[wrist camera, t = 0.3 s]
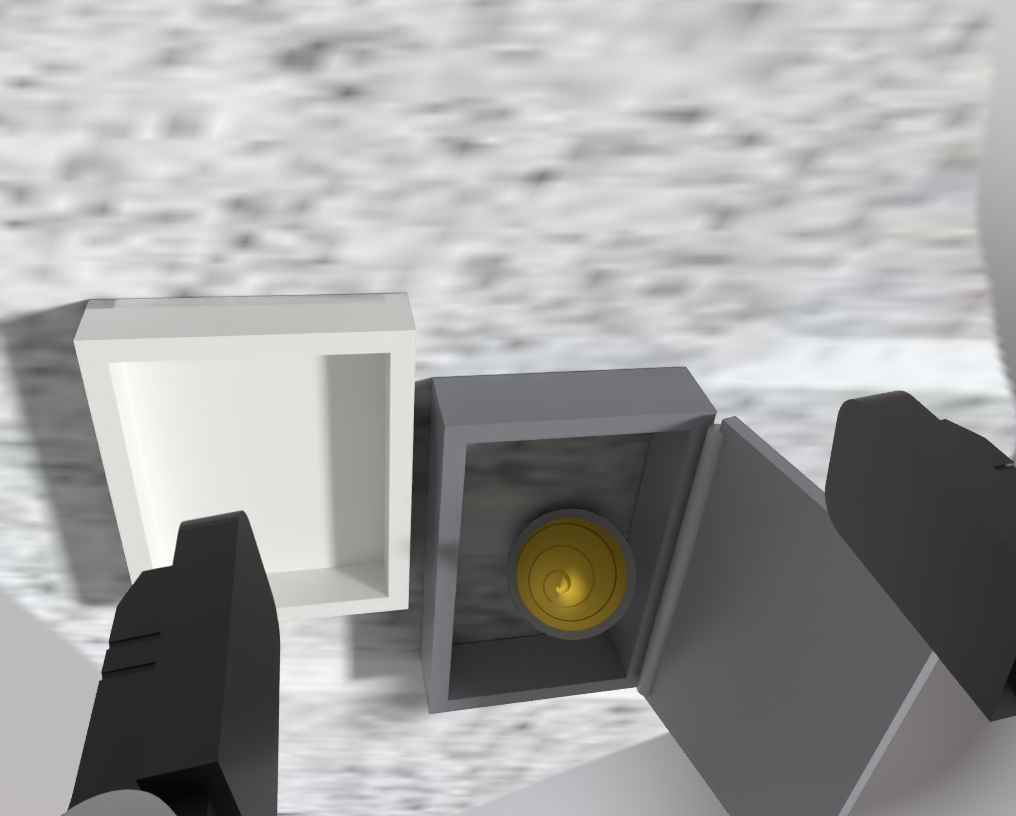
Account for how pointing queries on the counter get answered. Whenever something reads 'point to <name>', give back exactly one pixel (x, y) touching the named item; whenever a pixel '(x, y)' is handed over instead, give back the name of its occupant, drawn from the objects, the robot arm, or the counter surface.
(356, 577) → the tray
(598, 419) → the case
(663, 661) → the lid
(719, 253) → the counter surface
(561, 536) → the drill bit
